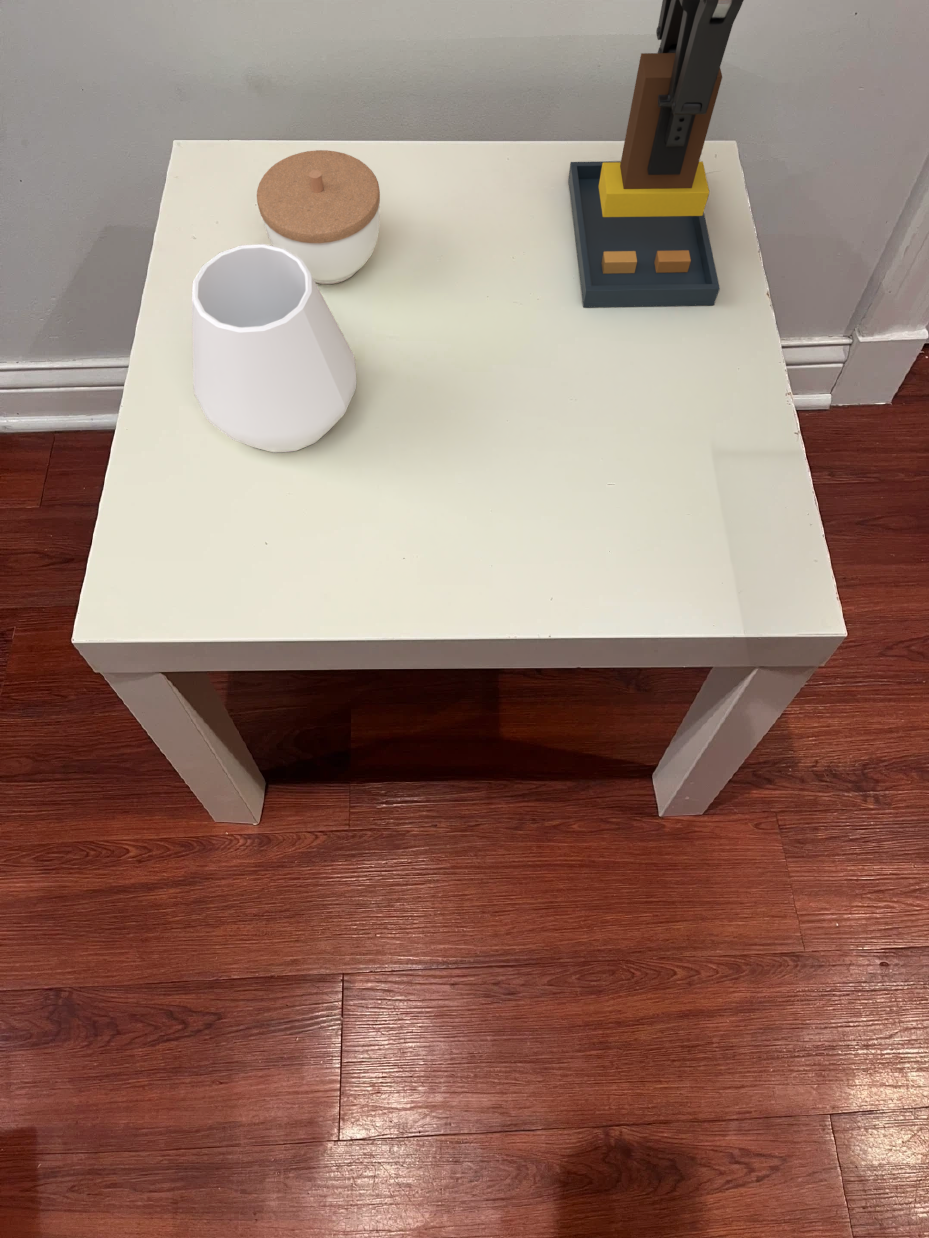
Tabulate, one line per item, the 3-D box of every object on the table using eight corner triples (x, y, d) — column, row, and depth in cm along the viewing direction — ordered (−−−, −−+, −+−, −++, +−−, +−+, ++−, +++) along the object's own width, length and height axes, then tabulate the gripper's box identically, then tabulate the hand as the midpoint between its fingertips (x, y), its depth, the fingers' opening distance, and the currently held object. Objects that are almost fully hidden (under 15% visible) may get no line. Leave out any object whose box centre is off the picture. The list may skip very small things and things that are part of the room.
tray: (713, 305, 83) (719, 288, 81) (583, 308, 83) (585, 290, 81) (688, 178, 91) (693, 160, 89) (567, 180, 91) (570, 161, 89)
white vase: (263, 329, 82) (228, 197, 69) (390, 385, 79) (378, 259, 66) (174, 434, 76) (119, 312, 64) (307, 497, 74) (277, 384, 61)
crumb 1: (634, 273, 84) (637, 261, 83) (602, 274, 84) (605, 262, 83) (632, 262, 85) (635, 250, 84) (601, 263, 85) (603, 251, 84)
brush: (696, 185, 82) (734, 48, 71) (702, 216, 81) (742, 81, 69) (598, 186, 82) (621, 49, 71) (602, 217, 80) (626, 82, 69)
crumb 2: (687, 272, 84) (691, 261, 83) (655, 273, 84) (658, 261, 83) (685, 262, 85) (689, 250, 84) (654, 262, 85) (657, 250, 84)
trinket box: (252, 283, 84) (229, 197, 76) (303, 209, 88) (287, 120, 80) (356, 316, 82) (345, 232, 74) (403, 239, 87) (397, 151, 78)
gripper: (662, -243, 59) (608, 96, 81) (697, -109, 53) (627, 224, 74) (775, -243, 60) (691, 96, 81) (824, -109, 53) (718, 223, 74)
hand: (661, 156), depth 77 cm, fingers closed on brush, 3 cm apart
